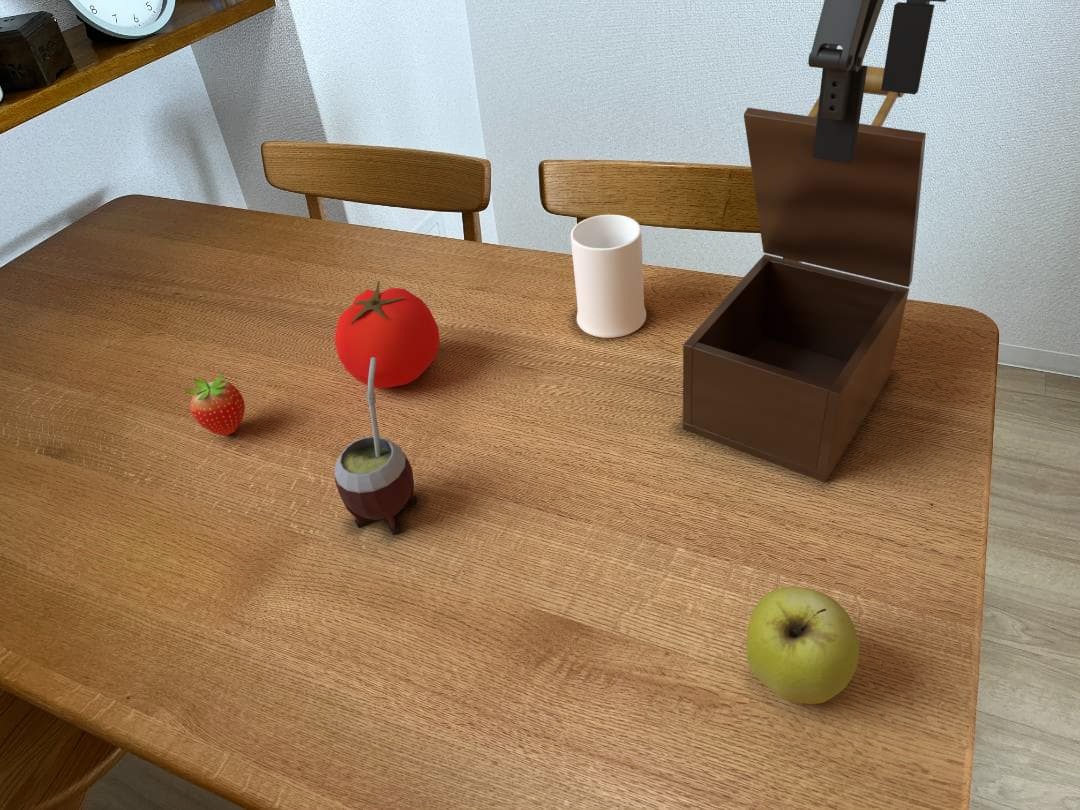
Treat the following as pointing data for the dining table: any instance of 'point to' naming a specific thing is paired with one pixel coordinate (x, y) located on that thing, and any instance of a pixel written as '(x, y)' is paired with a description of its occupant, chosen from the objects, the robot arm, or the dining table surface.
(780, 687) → the apple
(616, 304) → the mug
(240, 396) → the fruit
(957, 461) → the dining table surface
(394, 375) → the tomato
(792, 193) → the lid
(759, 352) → the chest
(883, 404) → the dining table surface
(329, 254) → the dining table surface
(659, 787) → the dining table surface
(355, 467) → the mate gourd
